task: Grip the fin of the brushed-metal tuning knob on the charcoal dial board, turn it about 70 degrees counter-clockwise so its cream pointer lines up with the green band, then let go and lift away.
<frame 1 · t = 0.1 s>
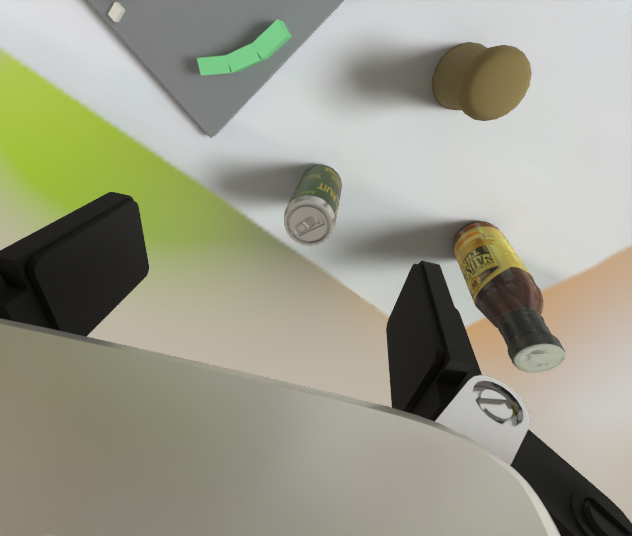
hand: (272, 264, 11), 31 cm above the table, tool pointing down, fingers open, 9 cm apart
beer can: (322, 183, 41), on the table
sauce bottle: (474, 240, 43), on the table
cork: (462, 77, 33), on the table
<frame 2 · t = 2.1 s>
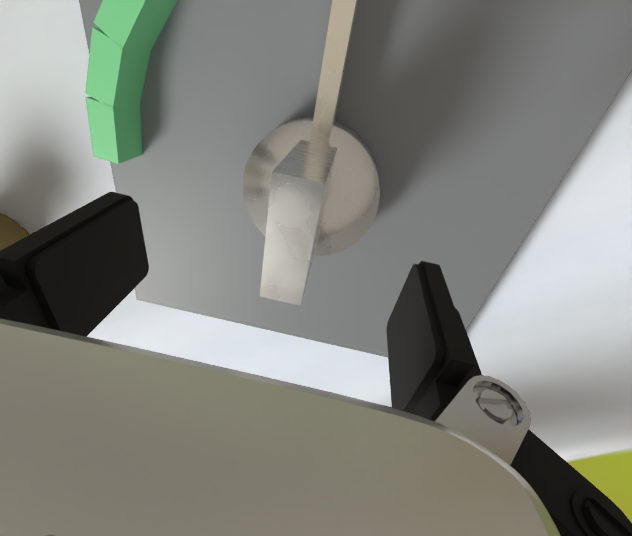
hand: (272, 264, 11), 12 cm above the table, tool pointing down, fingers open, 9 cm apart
tuning knob: (313, 152, 15), point 6 cm above the table, hinge at 0.0°
dial board: (318, 177, 21), on the table
cork: (8, 240, 28), on the table
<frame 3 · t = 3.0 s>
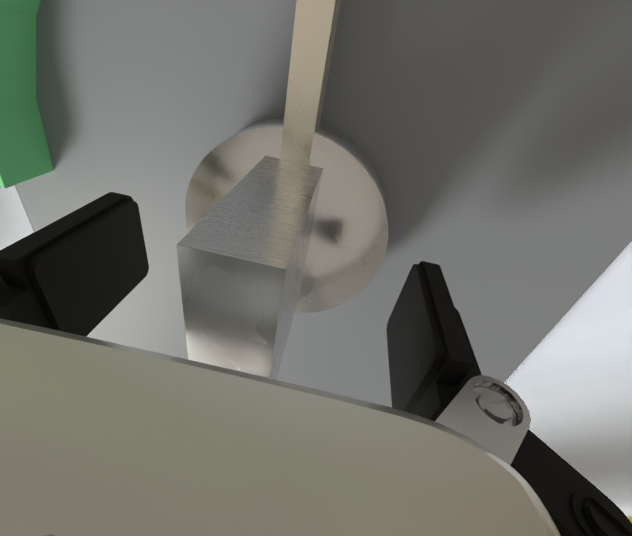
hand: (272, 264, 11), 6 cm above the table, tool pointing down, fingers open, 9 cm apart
tuning knob: (281, 181, 9), point 6 cm above the table, hinge at 0.0°
dial board: (301, 199, 15), on the table
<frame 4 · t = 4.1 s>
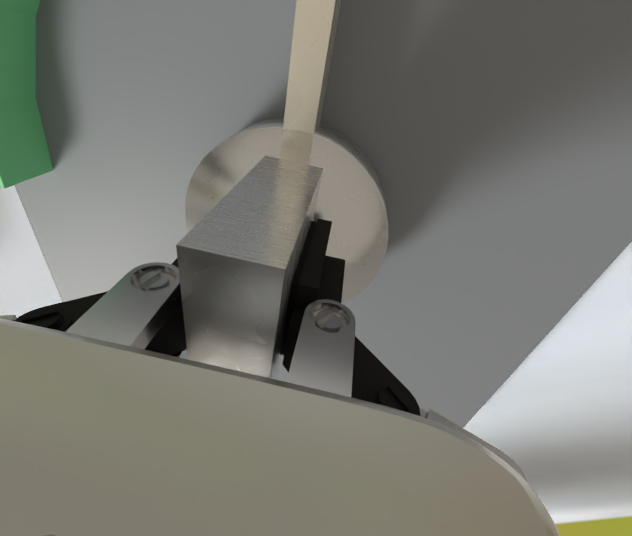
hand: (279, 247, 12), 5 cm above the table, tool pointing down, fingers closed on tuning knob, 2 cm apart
tuning knob: (280, 181, 9), point 6 cm above the table, hinge at 0.0°, touching gripper
dial board: (301, 199, 15), on the table
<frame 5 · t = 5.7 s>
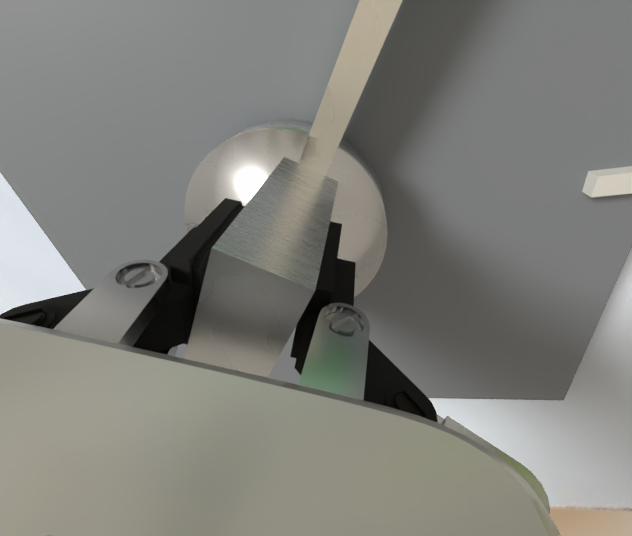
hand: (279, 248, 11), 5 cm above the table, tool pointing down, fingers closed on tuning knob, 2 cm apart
tuning knob: (301, 190, 9), point 6 cm above the table, hinge at 57.5°, touching gripper
dial board: (300, 200, 15), on the table
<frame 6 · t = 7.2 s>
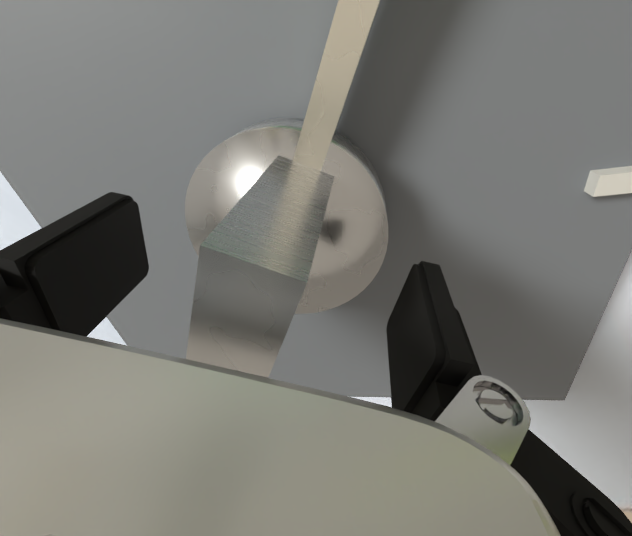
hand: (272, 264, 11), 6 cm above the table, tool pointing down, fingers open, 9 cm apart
tuning knob: (295, 186, 9), point 6 cm above the table, hinge at 61.6°
dial board: (301, 199, 15), on the table
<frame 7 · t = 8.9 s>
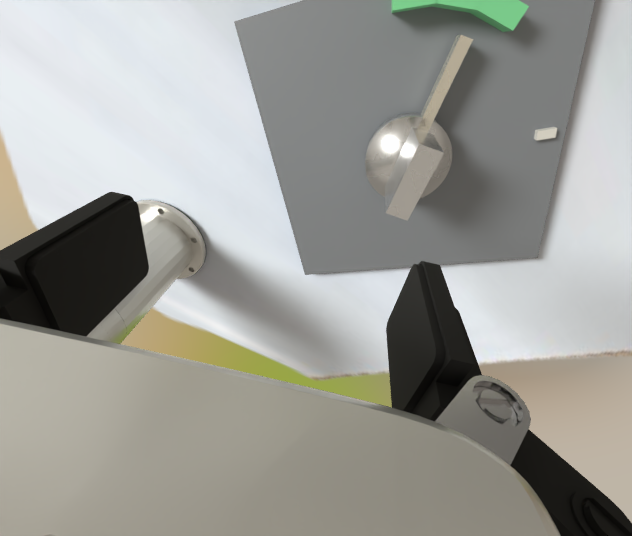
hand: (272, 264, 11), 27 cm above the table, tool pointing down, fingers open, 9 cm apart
tuning knob: (425, 135, 26), point 6 cm above the table, hinge at 61.6°
dial board: (404, 151, 33), on the table
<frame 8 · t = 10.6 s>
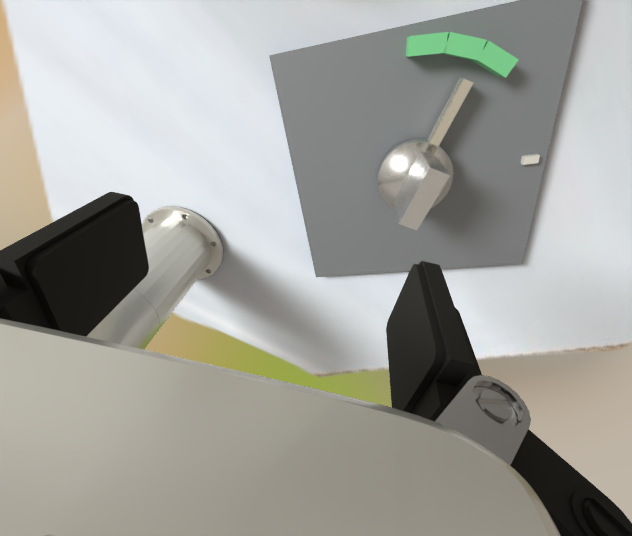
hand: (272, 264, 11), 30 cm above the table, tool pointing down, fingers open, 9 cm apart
tuning knob: (432, 159, 31), point 6 cm above the table, hinge at 61.6°
dial board: (410, 169, 37), on the table
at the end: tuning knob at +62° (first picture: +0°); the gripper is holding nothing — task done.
